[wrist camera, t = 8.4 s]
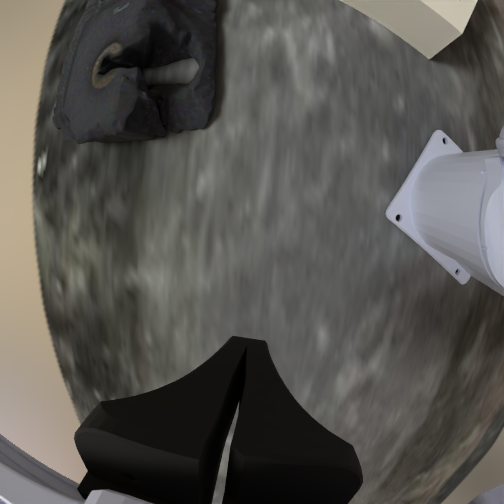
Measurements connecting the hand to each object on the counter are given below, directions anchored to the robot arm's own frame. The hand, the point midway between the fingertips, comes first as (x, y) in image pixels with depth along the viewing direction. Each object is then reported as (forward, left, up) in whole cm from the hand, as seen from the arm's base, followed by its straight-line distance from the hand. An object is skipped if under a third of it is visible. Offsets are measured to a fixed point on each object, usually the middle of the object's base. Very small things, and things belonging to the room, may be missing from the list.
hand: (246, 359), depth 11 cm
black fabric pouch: (+20, -12, -11) cm, 26 cm away
